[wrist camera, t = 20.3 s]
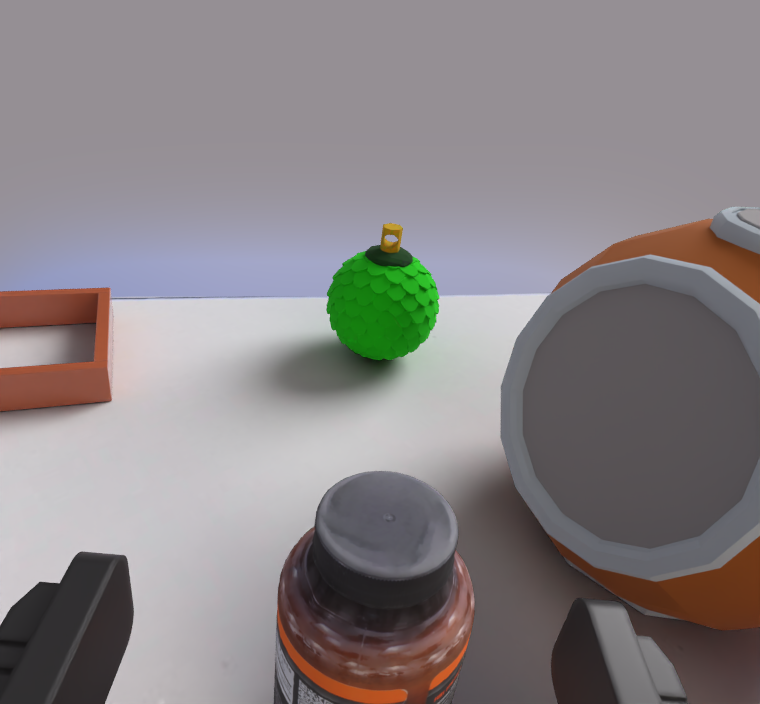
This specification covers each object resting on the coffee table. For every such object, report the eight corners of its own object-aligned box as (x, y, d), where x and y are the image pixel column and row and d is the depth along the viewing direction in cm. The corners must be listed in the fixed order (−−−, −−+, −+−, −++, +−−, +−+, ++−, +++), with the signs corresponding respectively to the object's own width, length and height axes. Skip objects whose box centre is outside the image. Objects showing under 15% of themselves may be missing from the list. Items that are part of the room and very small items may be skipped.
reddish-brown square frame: (-106, 421, 34) (-119, 384, 33) (-59, 326, 43) (-68, 293, 42) (111, 401, 38) (107, 367, 37) (113, 317, 47) (110, 287, 45)
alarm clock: (422, 458, 37) (479, 165, 28) (622, 399, 45) (714, 160, 36) (699, 775, 23) (983, 392, 14) (913, 607, 31) (1177, 300, 22)
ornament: (312, 372, 43) (322, 237, 38) (333, 320, 50) (344, 200, 45) (426, 391, 43) (451, 257, 38) (431, 336, 50) (453, 217, 45)
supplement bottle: (430, 669, 25) (485, 457, 20) (438, 843, 20) (517, 623, 14) (284, 656, 25) (297, 437, 19) (255, 828, 20) (261, 599, 14)
